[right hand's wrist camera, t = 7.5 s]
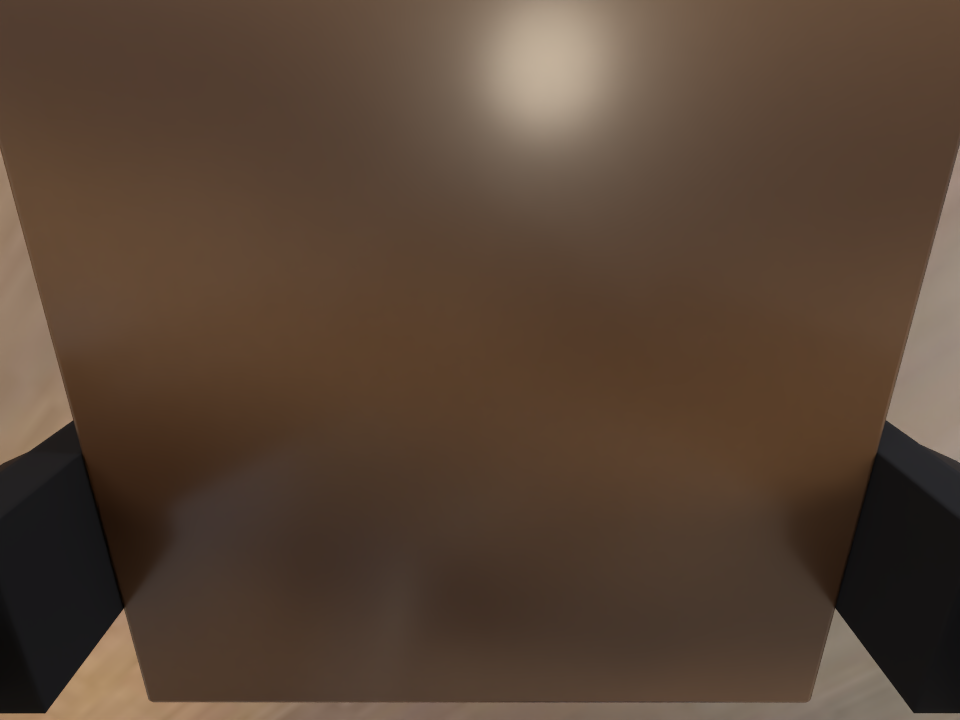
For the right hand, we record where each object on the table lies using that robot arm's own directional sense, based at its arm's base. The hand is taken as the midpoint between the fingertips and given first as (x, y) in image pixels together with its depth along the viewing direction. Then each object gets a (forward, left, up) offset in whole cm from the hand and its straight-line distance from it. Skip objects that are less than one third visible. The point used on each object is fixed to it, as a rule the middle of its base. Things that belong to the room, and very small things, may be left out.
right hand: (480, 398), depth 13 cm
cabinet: (+4, +4, -3) cm, 7 cm away
